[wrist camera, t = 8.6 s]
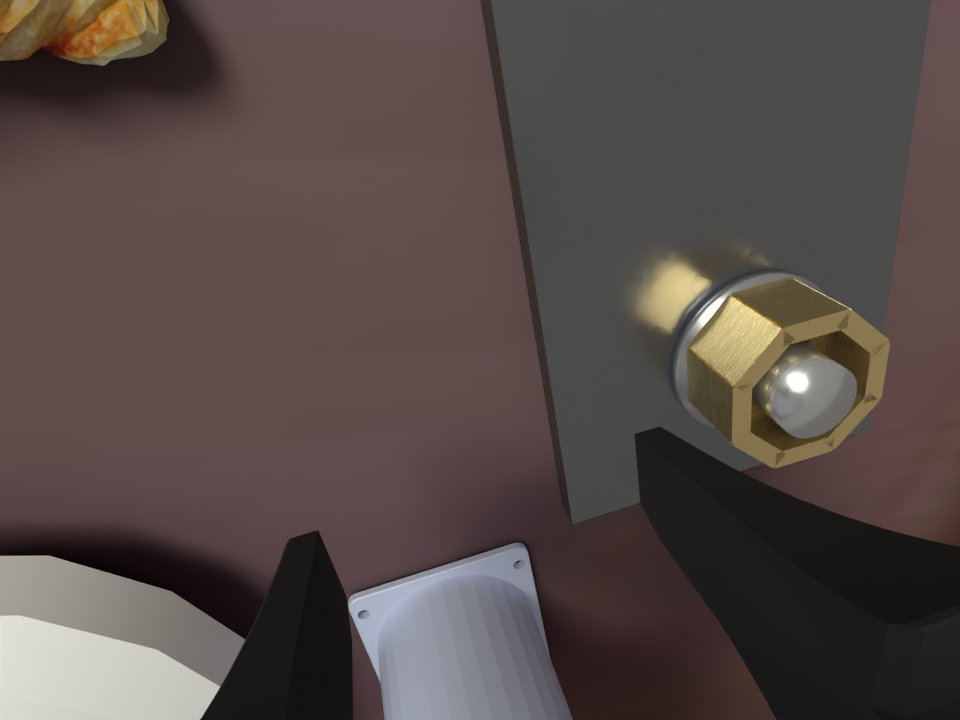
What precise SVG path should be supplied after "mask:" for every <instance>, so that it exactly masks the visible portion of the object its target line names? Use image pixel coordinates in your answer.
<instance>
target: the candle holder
mask: <svg viewBox="0 0 960 720" xmlns="http://www.w3.org/2000/svg"><path fill="white" fill-rule="evenodd" d="M244 642H245V639H244V638H242V637H241V636H239V635H238V634H236V633H234V632H233V631H231V630H230V629H228V628H227V627H225V626H224V625H222V624H221V623H219V622H218V621H216V620H215V619H213V618H212V617H210V616H208V615H207V614H205V613H204V612H202V611H201V610H199V609H198V608H196V607H195V606H193V605H192V604H190V603H189V602H187V601H186V600H184V599H183V598H181V597H179V596H178V595H176V594H175V593H173V592H172V591H169V590H165V589H162V588H159V587H155V586H152V585H148V584H145V583H141V582H138V581H135V580H131V579H128V578H124V577H121V576H117V575H114V574H111V573H107V572H104V571H100V570H97V569H93V568H90V567H87V566H83V565H80V564H76V563H73V562H69V561H66V560H63V559H59V558H56V557H52V556H0V720H200V719H201V718H202V716H203V714H204V713H205V711H206V710H207V708H208V706H209V705H210V703H211V701H212V700H213V698H214V697H215V695H216V693H217V692H218V690H219V688H220V686H221V685H222V683H223V681H224V679H225V678H226V676H227V674H228V672H229V671H230V669H231V667H232V665H233V663H234V661H235V659H236V657H237V655H238V653H239V651H240V649H241V647H242V645H243V644H244Z"/></svg>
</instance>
